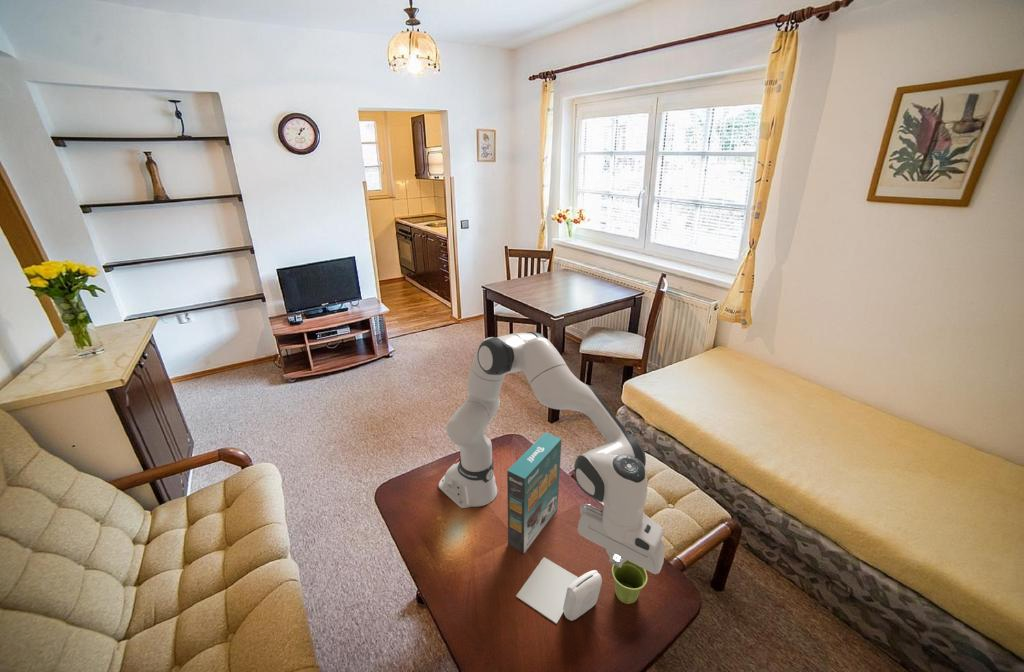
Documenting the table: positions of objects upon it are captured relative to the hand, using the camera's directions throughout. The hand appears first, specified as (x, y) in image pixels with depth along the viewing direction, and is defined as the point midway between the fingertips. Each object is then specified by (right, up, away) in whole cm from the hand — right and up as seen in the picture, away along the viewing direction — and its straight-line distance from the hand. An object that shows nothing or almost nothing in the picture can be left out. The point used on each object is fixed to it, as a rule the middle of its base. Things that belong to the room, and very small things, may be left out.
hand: (616, 562), depth 101 cm
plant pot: (+7, -18, +17) cm, 26 cm away
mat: (-14, -17, +18) cm, 29 cm away
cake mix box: (-18, -9, +39) cm, 44 cm away
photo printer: (-7, -20, +13) cm, 25 cm away
